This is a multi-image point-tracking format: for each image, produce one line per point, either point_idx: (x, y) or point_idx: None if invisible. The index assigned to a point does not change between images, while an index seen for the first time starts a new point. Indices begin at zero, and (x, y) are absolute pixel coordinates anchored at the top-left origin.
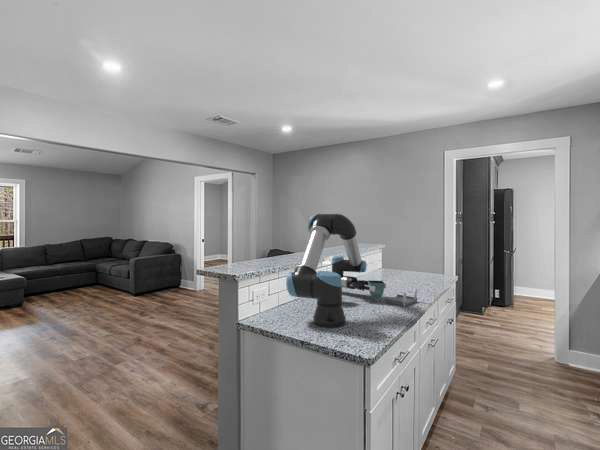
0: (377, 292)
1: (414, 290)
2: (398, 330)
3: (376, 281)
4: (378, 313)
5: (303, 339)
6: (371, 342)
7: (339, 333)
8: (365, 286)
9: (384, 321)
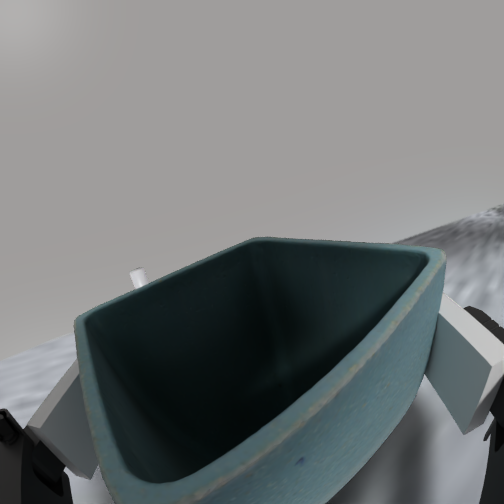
0: (331, 363)
1: (145, 276)
2: (467, 217)
3: (98, 364)
4: (474, 275)
5: None
6: None
7: None
8: (499, 351)
9: (479, 238)
